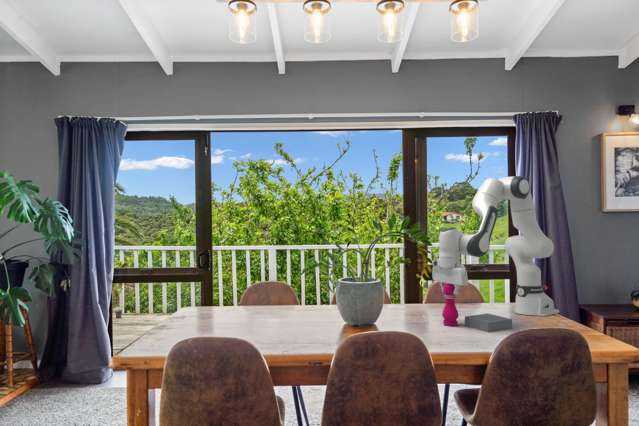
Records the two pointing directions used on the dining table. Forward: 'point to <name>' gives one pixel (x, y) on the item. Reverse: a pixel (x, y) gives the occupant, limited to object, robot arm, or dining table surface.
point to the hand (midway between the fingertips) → (450, 293)
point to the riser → (488, 322)
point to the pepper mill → (450, 306)
